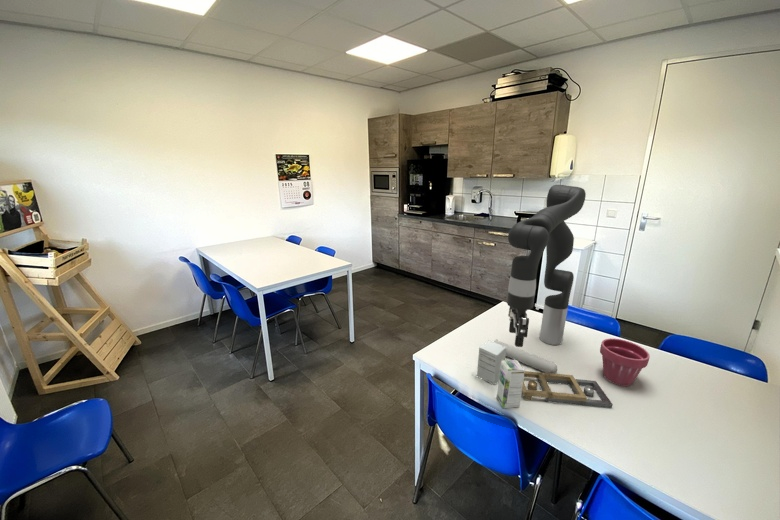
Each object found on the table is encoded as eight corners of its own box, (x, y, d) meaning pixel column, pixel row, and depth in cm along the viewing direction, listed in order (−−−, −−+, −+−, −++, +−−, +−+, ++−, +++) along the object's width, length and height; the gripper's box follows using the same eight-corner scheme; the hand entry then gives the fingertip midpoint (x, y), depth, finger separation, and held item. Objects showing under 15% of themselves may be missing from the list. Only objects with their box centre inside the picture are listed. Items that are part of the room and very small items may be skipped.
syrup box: (495, 396, 109) (500, 360, 105) (512, 395, 110) (517, 359, 106) (502, 408, 104) (507, 370, 100) (520, 407, 104) (525, 369, 100)
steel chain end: (536, 379, 118) (537, 373, 118) (594, 384, 115) (596, 378, 115) (547, 401, 107) (548, 395, 106) (611, 408, 104) (613, 401, 103)
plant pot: (644, 377, 119) (652, 347, 115) (639, 397, 109) (647, 364, 105) (599, 362, 128) (605, 334, 125) (591, 378, 118) (597, 348, 115)
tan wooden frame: (514, 377, 119) (515, 370, 119) (571, 382, 117) (572, 375, 116) (522, 399, 108) (523, 391, 107) (585, 405, 105) (587, 398, 104)
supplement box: (486, 368, 125) (488, 339, 121) (503, 376, 120) (507, 347, 116) (475, 376, 120) (478, 346, 116) (494, 385, 115) (497, 355, 111)
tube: (560, 362, 122) (498, 338, 138) (557, 364, 118) (493, 339, 134) (557, 376, 122) (495, 350, 139) (553, 378, 118) (490, 351, 134)
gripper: (541, 301, 88) (534, 352, 93) (528, 283, 102) (522, 328, 106) (513, 299, 89) (507, 350, 94) (504, 282, 103) (499, 327, 108)
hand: (515, 338), depth 100 cm, fingers open, 8 cm apart
